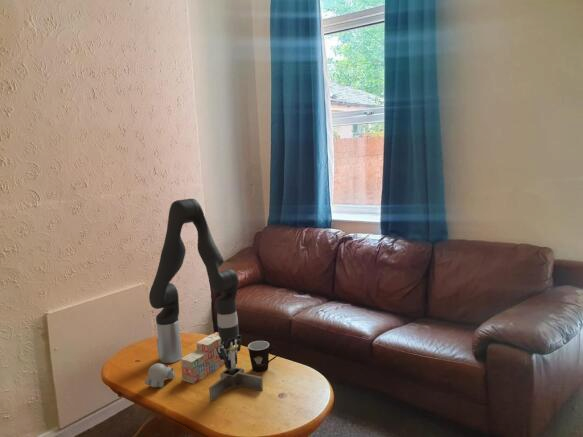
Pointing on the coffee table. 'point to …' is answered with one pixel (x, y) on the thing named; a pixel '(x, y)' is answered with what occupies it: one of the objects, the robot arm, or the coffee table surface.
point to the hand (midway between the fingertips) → (231, 365)
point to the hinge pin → (232, 360)
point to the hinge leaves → (234, 382)
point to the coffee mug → (260, 355)
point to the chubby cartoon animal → (159, 375)
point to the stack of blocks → (202, 359)
